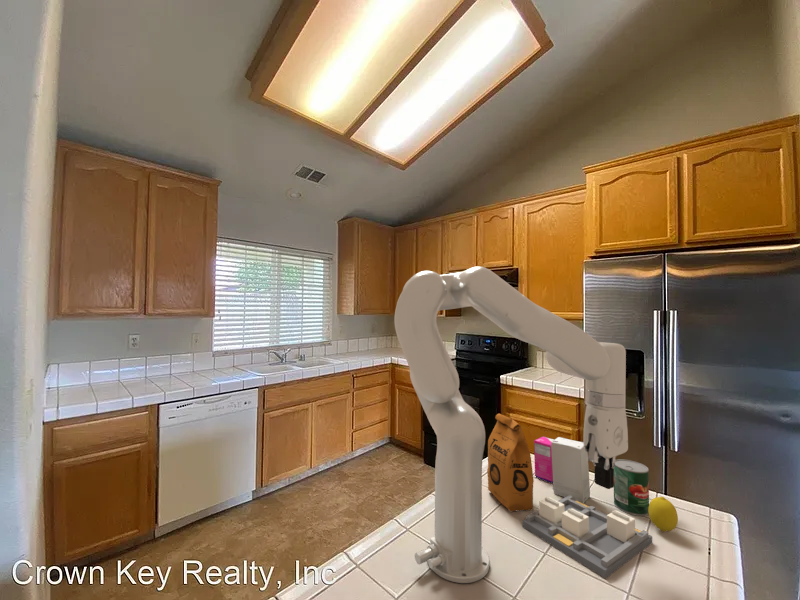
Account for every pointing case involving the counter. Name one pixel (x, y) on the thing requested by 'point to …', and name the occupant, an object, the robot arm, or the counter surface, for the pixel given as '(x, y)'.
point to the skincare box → (570, 469)
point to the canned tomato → (631, 487)
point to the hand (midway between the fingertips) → (603, 485)
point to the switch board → (589, 539)
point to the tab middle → (575, 522)
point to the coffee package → (510, 465)
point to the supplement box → (543, 459)
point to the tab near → (620, 526)
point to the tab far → (551, 510)
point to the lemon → (663, 514)
